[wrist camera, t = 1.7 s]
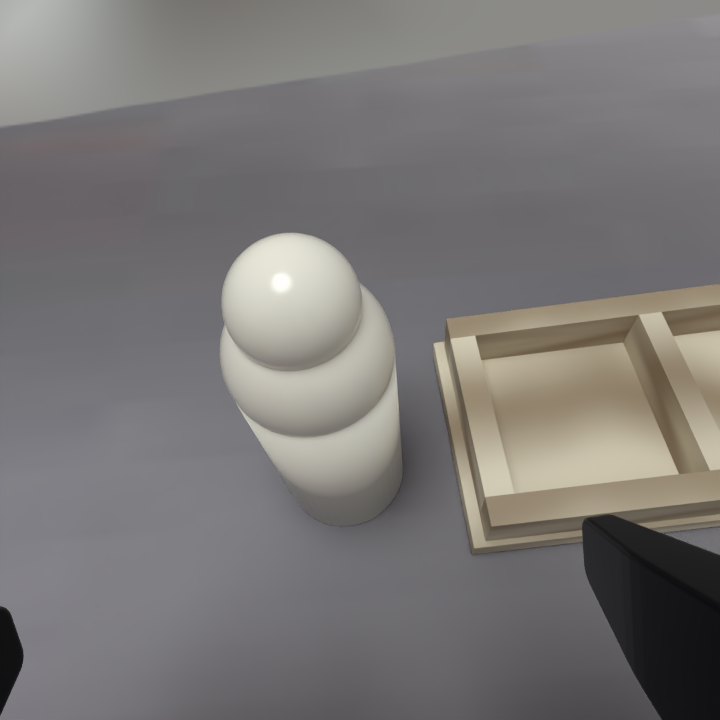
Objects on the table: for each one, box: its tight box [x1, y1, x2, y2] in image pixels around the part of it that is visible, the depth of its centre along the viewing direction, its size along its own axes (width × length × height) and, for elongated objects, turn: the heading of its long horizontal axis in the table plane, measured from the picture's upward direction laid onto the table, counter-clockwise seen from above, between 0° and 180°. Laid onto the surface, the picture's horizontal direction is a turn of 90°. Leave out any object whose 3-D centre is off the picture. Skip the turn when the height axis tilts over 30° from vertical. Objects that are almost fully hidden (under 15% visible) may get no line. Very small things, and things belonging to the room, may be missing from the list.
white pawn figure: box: [220, 233, 403, 526], centre depth 17 cm, size 5×5×13 cm
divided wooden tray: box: [433, 284, 720, 555], centre depth 21 cm, size 9×17×3 cm, turn 95°
